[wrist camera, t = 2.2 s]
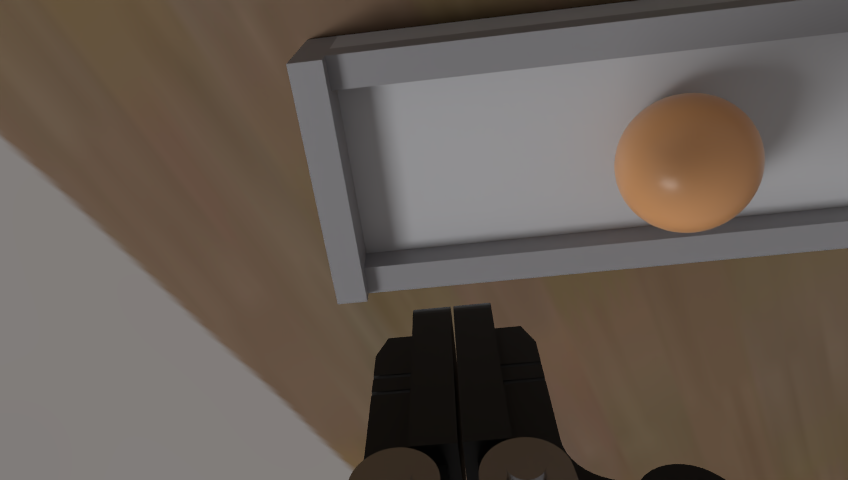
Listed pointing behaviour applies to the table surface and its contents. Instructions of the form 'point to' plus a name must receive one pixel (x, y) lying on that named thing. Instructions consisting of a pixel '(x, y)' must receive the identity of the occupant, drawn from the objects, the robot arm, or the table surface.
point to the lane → (562, 138)
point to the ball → (689, 162)
